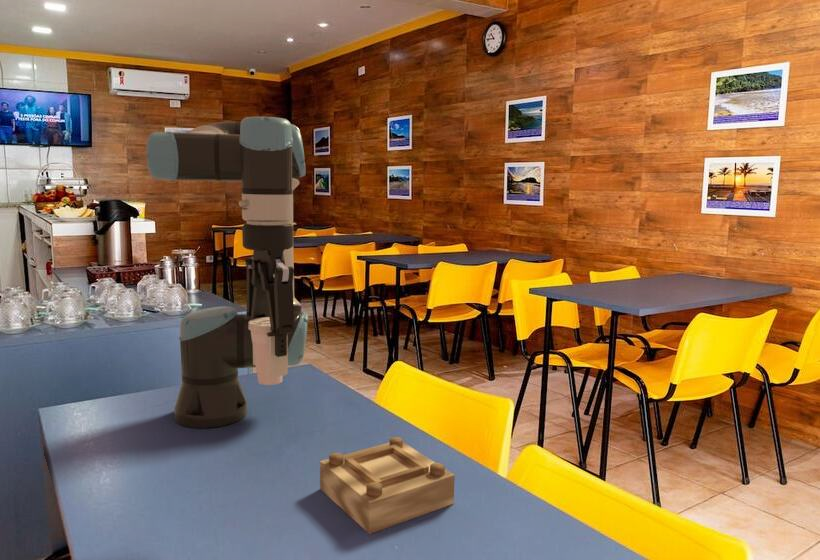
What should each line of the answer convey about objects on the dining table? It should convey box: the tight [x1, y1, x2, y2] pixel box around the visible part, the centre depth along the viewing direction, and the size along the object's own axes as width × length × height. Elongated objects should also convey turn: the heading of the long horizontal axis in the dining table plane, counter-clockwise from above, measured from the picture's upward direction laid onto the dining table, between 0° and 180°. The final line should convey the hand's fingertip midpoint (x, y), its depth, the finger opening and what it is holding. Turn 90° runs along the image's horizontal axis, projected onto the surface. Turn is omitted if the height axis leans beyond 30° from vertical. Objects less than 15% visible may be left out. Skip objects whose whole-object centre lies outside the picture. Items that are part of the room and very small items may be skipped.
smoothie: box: [248, 317, 284, 386], centre depth 97 cm, size 6×6×14 cm
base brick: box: [319, 436, 456, 535], centre depth 103 cm, size 16×16×6 cm
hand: (270, 369), depth 98 cm, fingers closed on smoothie, 6 cm apart
